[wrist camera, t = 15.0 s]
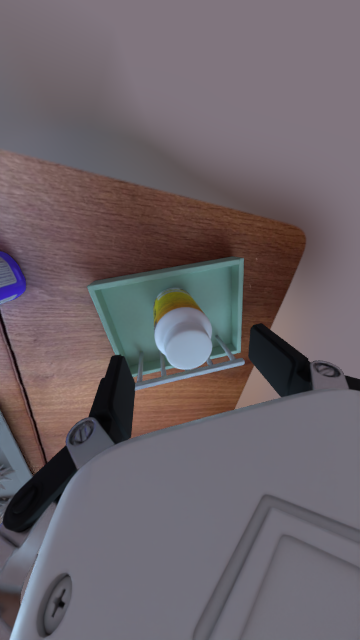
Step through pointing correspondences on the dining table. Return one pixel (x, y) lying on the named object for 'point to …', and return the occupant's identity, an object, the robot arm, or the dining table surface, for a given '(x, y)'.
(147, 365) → the dish rack
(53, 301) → the dining table surface
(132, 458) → the robot arm
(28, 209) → the dining table surface
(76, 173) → the dining table surface
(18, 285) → the bottle
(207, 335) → the supplement bottle
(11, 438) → the decorative plate
